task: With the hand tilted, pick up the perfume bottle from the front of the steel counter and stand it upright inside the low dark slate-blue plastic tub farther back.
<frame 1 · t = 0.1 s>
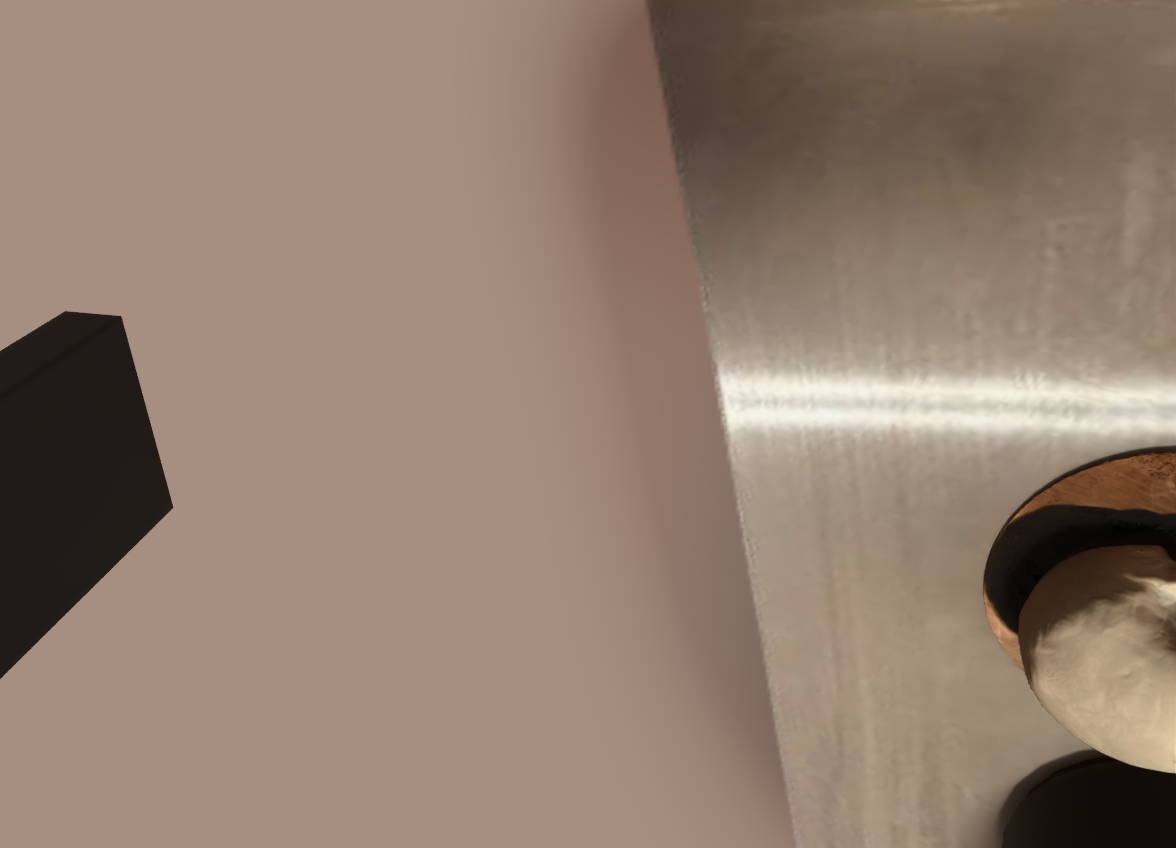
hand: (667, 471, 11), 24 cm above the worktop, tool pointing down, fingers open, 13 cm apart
coffee jar: (1131, 830, 44), on the worktop
skull: (1158, 584, 37), on the worktop
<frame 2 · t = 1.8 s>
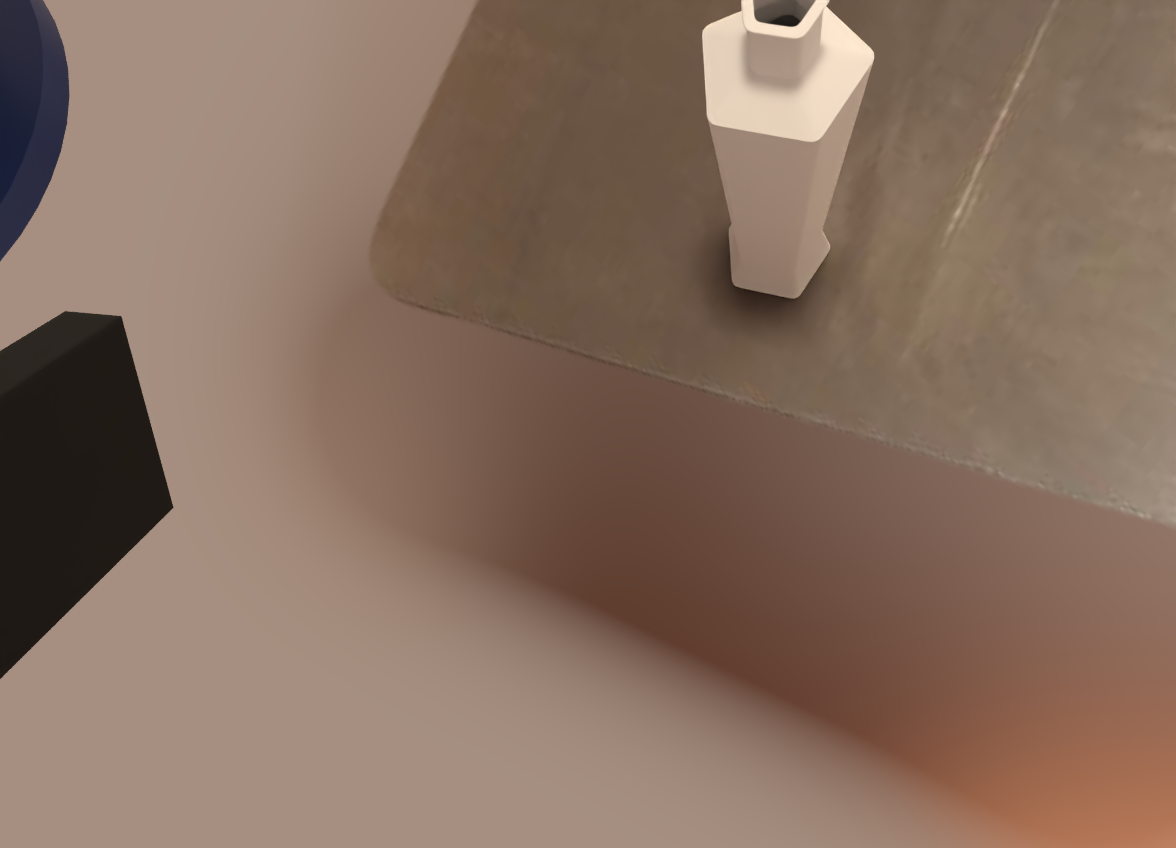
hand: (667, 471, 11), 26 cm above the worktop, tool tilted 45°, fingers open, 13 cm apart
perfume bottle: (780, 253, 39), on the worktop
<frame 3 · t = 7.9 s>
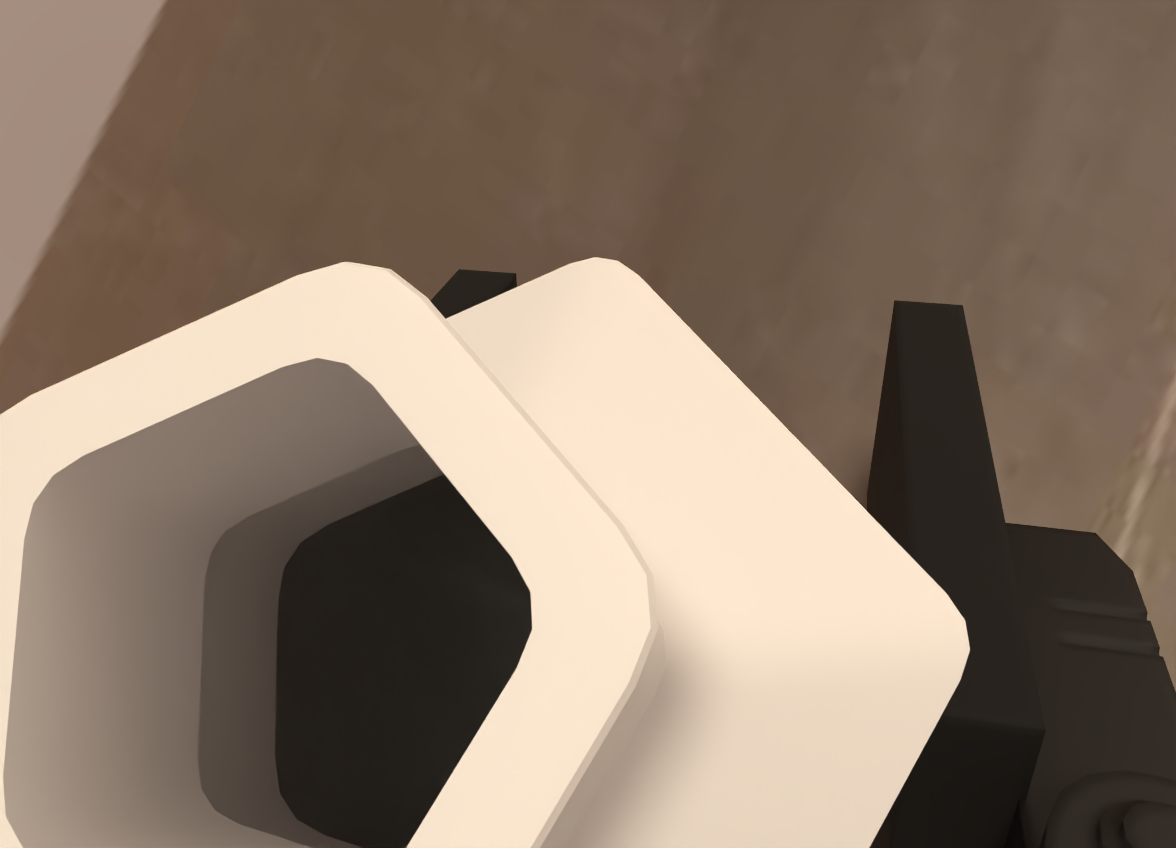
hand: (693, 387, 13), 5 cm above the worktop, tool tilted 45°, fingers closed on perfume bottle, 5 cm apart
perfume bottle: (694, 695, 17), on the worktop, touching gripper
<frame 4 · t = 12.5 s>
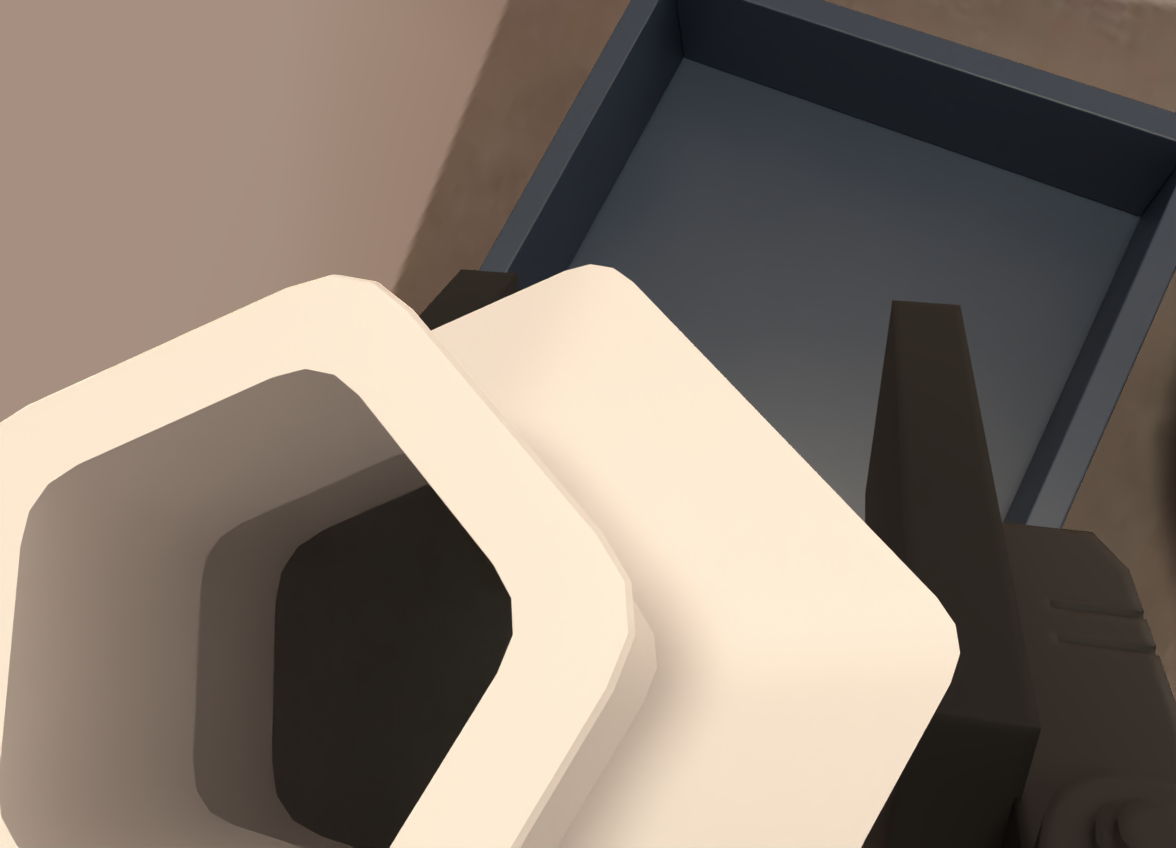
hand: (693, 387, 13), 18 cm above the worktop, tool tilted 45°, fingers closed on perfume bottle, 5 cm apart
perfume bottle: (698, 697, 17), point 13 cm above the worktop, touching gripper
bin: (793, 346, 32), on the worktop
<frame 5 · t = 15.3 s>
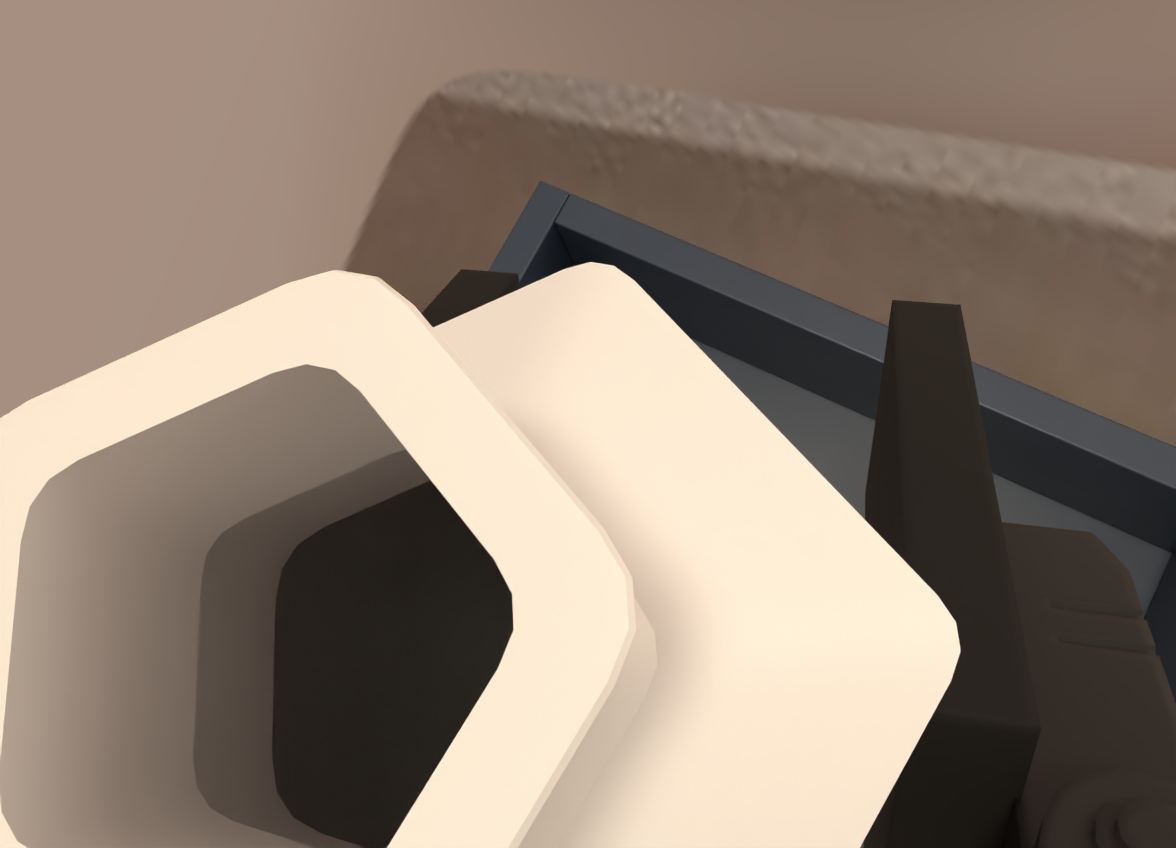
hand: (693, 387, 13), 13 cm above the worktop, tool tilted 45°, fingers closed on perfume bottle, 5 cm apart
perfume bottle: (699, 697, 17), point 7 cm above the worktop, touching gripper
bin: (714, 694, 24), on the worktop
when the fingers open (6 cm above the worktop, at t = 17.4 s): perfume bottle stays where it is, resting on bin.
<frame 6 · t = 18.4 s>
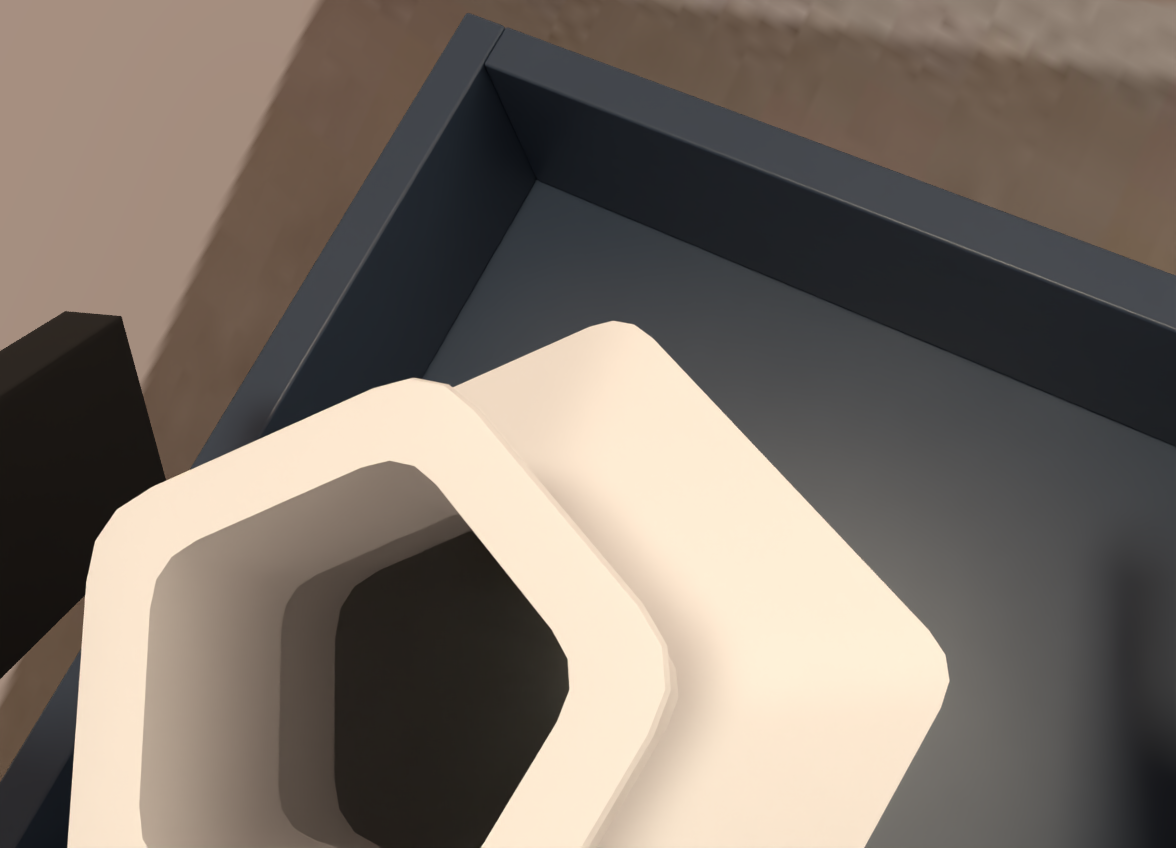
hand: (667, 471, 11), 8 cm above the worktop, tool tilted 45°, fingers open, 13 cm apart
perfume bottle: (705, 701, 18), point 1 cm above the worktop, touching bin
bin: (700, 695, 18), on the worktop
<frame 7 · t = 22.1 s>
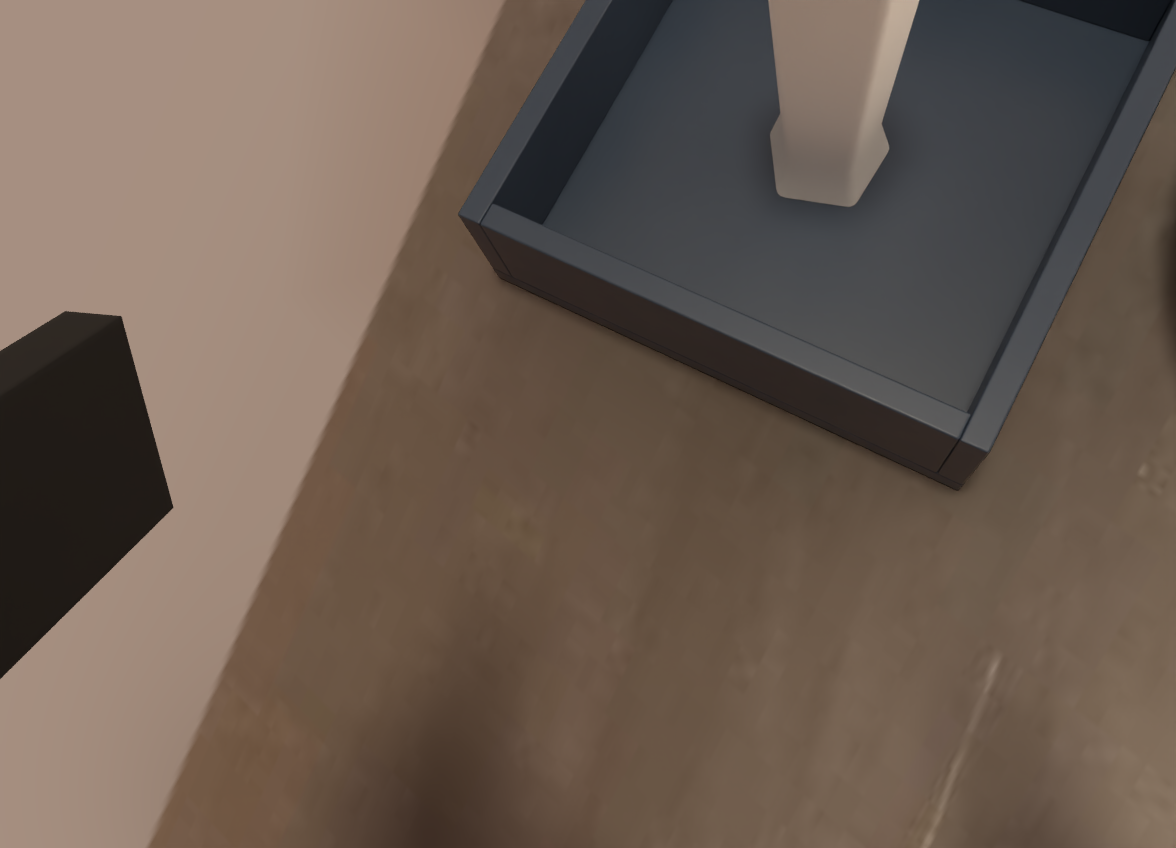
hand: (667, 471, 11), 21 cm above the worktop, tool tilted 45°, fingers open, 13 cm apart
perfume bottle: (831, 157, 34), point 1 cm above the worktop, touching bin
bin: (826, 165, 34), on the worktop
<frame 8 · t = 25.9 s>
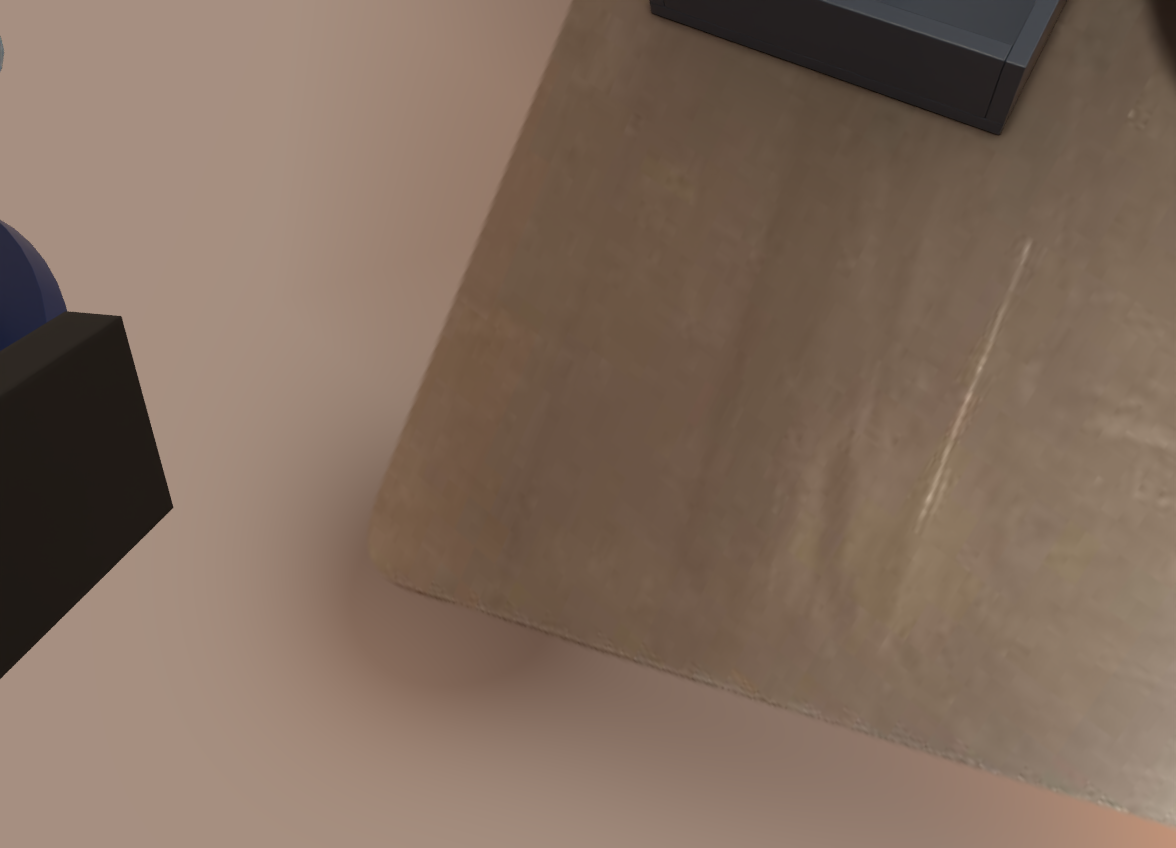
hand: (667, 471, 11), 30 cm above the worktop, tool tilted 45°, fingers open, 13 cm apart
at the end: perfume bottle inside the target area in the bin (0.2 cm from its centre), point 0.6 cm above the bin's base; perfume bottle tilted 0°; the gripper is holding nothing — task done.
